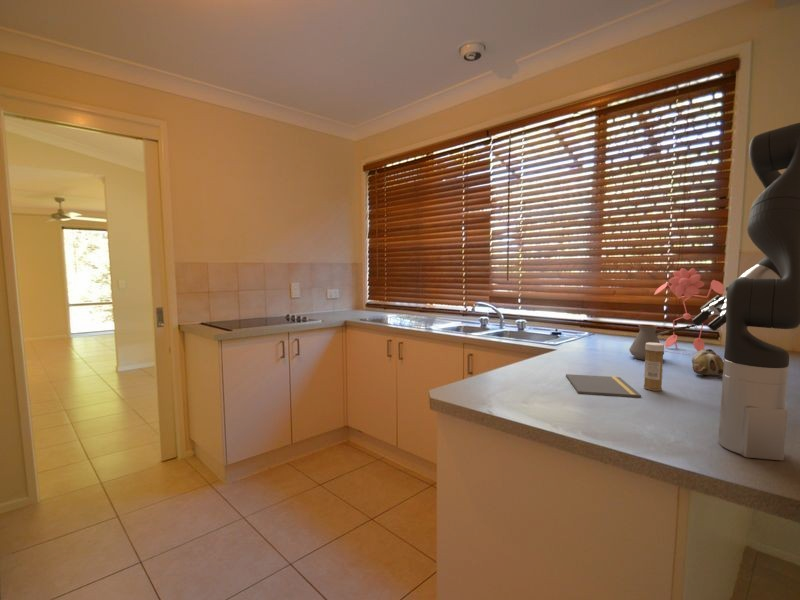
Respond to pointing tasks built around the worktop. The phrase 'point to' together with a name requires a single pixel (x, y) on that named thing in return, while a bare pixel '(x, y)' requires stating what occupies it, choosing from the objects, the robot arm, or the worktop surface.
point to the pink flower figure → (688, 286)
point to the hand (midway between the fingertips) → (702, 325)
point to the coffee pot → (648, 339)
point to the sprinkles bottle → (653, 366)
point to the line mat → (601, 385)
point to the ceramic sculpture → (707, 363)
